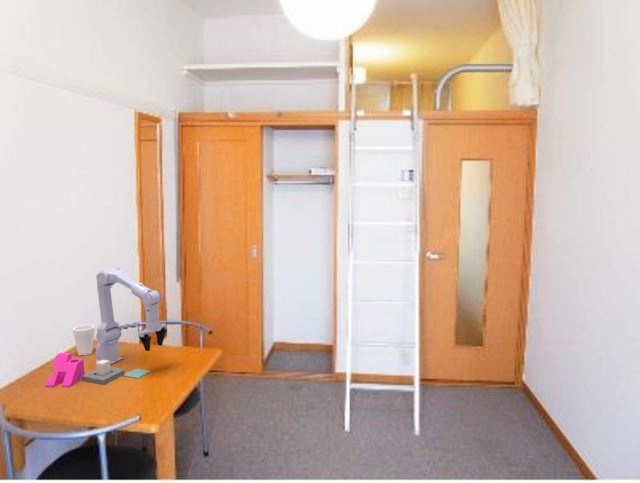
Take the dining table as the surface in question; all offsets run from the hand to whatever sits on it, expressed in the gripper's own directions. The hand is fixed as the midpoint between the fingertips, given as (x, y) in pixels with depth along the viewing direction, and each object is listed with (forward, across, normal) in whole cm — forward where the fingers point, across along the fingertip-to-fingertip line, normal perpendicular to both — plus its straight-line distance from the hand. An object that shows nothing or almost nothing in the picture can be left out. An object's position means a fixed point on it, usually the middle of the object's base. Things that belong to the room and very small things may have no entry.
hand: (153, 347), depth 214 cm
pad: (+10, -7, +3) cm, 13 cm away
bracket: (+10, -26, +25) cm, 37 cm away
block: (+10, -16, +14) cm, 23 cm away
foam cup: (+10, 0, +46) cm, 47 cm away
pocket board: (+10, -16, +14) cm, 23 cm away
